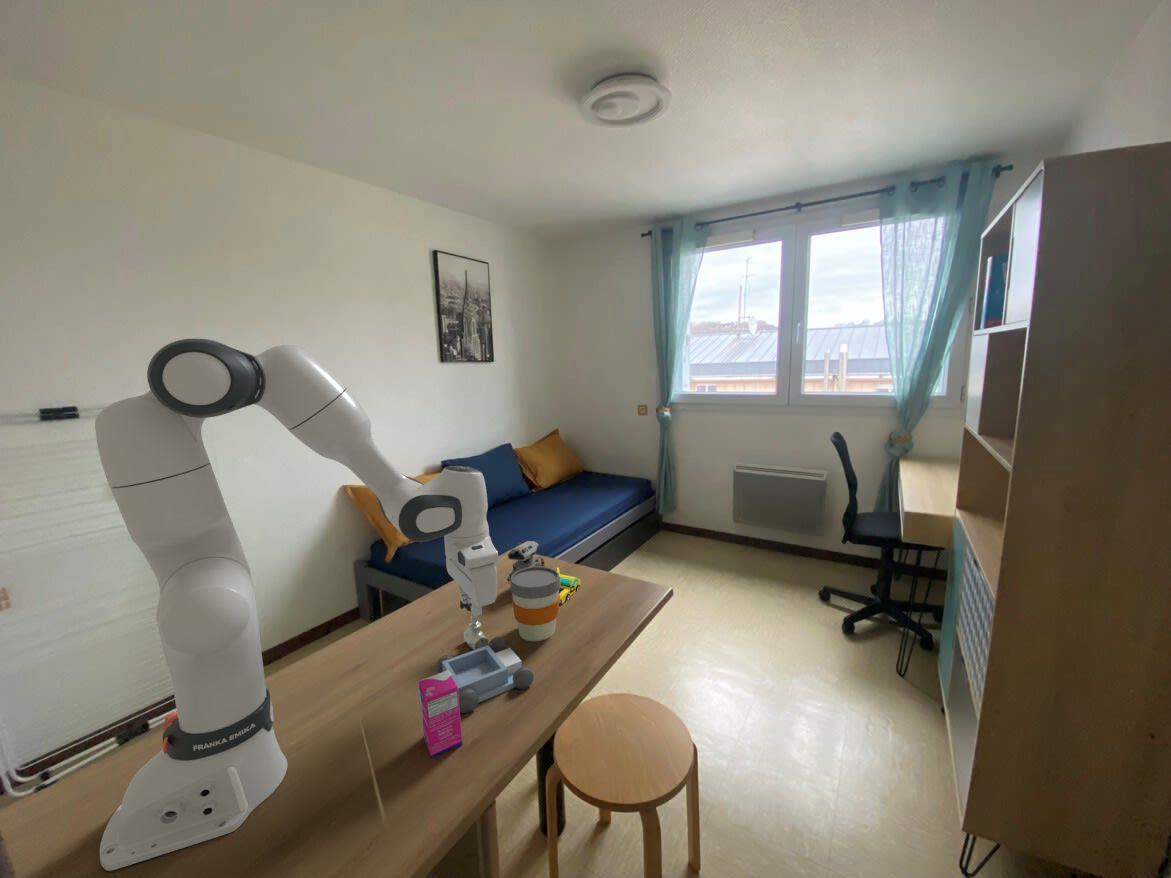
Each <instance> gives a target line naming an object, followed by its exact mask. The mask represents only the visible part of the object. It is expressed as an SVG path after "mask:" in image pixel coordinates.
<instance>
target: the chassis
mask: <svg viewBox="0 0 1171 878" xmlns="http://www.w3.org/2000/svg"><path fill="white" fill-rule="evenodd" d="M507 647H508V645H507V642H506V641H505V640H504V638H502V637H501V636H496V637H493V638H492V639H491V640H490V641H489V642H488V646H485V647H482V648H479V649H476V650H471V651H468V652H466V653H462V654H460V655H457V656H454V657H453V656H452V655H451V654H444V655H442V656H440V657H439V659H437V661H436V663H435V668H436V671H437V672H438V673H437V674H439V673H441V672H444V671H446V670H449V671H450V673H451V675H452V677H453V678H454V680H455V682H456V684H457V686H458V695H459V707H460V713H462V714H469V713H471V712H473V711H474V710H475V709H476V708H477V707H478V705H479V703H481V702H484V701H485V700H486V701H487V700H488V699H491V698H493V697H495V696H498V695H500V694H502V693H505V692H507V691H510V690H512V689H514V688H516V687H517V688H518V689H519V690H525V689H527V688H529V687H530V686H531V685H532V684H533V681H534V672H532V670H531V669H530V667H528V666H525V665H523V663H522V659H520V657H519V656H518V655H517V654H516V653H515V651H514V650H513V649H512V648H510V647H508V648H507Z"/></svg>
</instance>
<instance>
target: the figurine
mask: <svg viewBox="0 0 1171 878" xmlns="http://www.w3.org/2000/svg"><path fill="white" fill-rule="evenodd" d="M539 546H540V545H539V543H538V542H537V541H534V540H527V541H525V542H522V543H520V542H518V543H517V546H516V547H514V548H512V549H511V550H510V551H509V552H508V553H507V555H506V556H507V558H508V560H511V561H515V562H514V563H513V564H512V571H511V572H509V573H508V577H507V579H506V580H507V583H510V582H511V576H512V575H513V574H514V573H515V572H517V571H518V570H521V569H524V568H528V567H546V564H545V560H544V558H542V557H541V556H539V557H535V555H536V553H537V549H538V548H539Z"/></svg>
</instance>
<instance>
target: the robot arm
mask: <svg viewBox="0 0 1171 878" xmlns="http://www.w3.org/2000/svg"><path fill="white" fill-rule="evenodd" d="M146 378H147V384H148V386H149V391H147V392H146V393H144V394H141V395H138V396H132V397H127V398H125V399H121V400H117V401H115V402H113V403H111V404H109V405H108V406H106V407H105V408H103V409H102V410H101V411H100V412H99V413H98V414H97V416H96V418H95V421H94V429H95V430H94V431H95V437H96V444H97V450H98V454H99V457H100V462H101V466H102V469H103V472H104V475H105V477H106V480H107V483H108V485H109V488H110V490H111V493H112V496H113V498H114V500H115V502H116V505H117V508H118V510H119V513H120V515H121V517H122V518H123V521H124V523H125V526H126V528H127V531H128V534H129V535H130V538H131V540H132V541H133V543H135V545H136V546H137V547H138V549H139V550H140V551H141V552H140V553H142V555H143V556H144V558H145V560H146V561H147V563H148V565H149V566H150V568H151V569H152V571H153V573H154V575H155V577H156V581H157V583H158V587H159V594H160V596H159V601H158V605H157V609H156V614H155V615H156V618H155V619H156V625H157V630H158V633H159V639H160V643H161V646H162V651H163V653H164V658H165V663H166V665H167V668H168V670H169V674H170V677H171V684H172V689H173V696H174V700H175V701H174V702H175V709H176V711H172V712H170V713H168V714H167V715H166V717H165V719H164V722H163V725H162V728H163V730H164V731H163V734H162V749H160V751H159V752H158V753H157V754H155V755H154V756H153V757H151V759H150V760H149V761H147V762H146V763H145V764H143V766H141V768H139V770H138V771H137V772H136V773H135V775H134V776H133V777H132V779H131V781H130V782H129V785H128V786H127V789H126V790H125V792H124V796H123V798H122V801H121V804H120V805H119V807H117V809H116V810H115V811H114V813H113V814H112V815H111V817H110V820H108V823H107V825H106V827H105V829H104V831H103V835H102V837H101V841H100V845H99V862H100V865H101V866H102V868H103V869H104V870H106V871H108V872H112V871H115V870H119V869H122V868H124V867H127V866H131V865H133V864H136V863H140V862H144V861H146V860H150V859H152V858H153V859H154V858H157V857H159V856H162V855H165V854H168V853H171V852H175V851H177V850H181V849H184V848H186V847H191V846H193V845H197V844H200V843H203V842H206V841H209V840H212V839H216V838H219V837H221V836H225V835H227V834H230V833H233V832H235V831H236V830H237V829H238V828H239V827H240V826H242V825H243V823H244V822H245V821H246V819H248V817H249V815H250V814H251V813H252V812H253V811H254V810H255V809H256V808H257V807H258V806H260V805H261V804H262V803H263V802H264V801H265V800H266V799H268V798H269V797H270V796H271V795H272V794H273V793H274V791H275V790H277V788H278V787H279V785H281V783H282V781H283V780H284V778H285V776H286V773H287V770H288V760H287V758H286V756H285V755H284V753H283V751H282V750H281V747H280V745H279V743H278V740H277V737H276V734H275V730H274V727H273V725H274V720H275V719H274V707H273V700H272V697H271V693H270V690H269V689H268V687H267V686H266V678H265V670H264V662H263V661H264V660H263V654H262V647H261V646H262V644H261V636H260V626H259V617H258V608H257V600H256V594H255V589H254V588H255V587H254V582H253V578H252V577H253V576H252V573H251V568H250V564H249V562H248V560H247V559H248V558H247V556H246V554H245V551H244V549H243V546H242V544H241V541H240V539H239V536H238V533H237V530H236V528H235V525H234V523H233V521H232V518H231V516H230V513H229V511H228V508H227V505H226V503H225V500H224V499H225V498H224V497H223V495H222V492H221V489H220V486H219V482H218V481H217V477H216V474H215V472H214V470H213V466H212V463H211V460H210V458H209V456H208V453H207V450H206V448H205V444H204V441H203V435H202V427H203V424H204V422H205V420H206V419H208V418H215V417H219V416H223V415H226V414H230V413H232V412H234V411H237V410H239V409H242V408H247V407H249V406H252V405H256V406H258V407H261V408H263V409H264V410H265V411H266V412H267V413H268V412H269V414H270V415H272V416H273V417H274V418H275V419H276V420H277V421H278V422H279V423H281V425H283V426H284V427H285V428H286V429H287V430H288V431H289V433H291V434H292V435H293V436H294V437H295V438H296V439H298V441H300V442H301V443H302V444H303V445H305V446H306V447H308V448H309V449H311V450H312V451H313V452H315V453H316V454H318V455H319V456H321V457H323V458H326V459H327V460H328V459H330V460H333V461H335V462H337V463H339V464H342V465H343V466H345V468H347V469H349V470H350V472H352V473H353V474H354V475H355V476H356V477H357V478H358V479H359V480H360V481H361V482H362V483H363V484H364V485H365V486H366V487H367V488H368V489H369V490H370V491H371V492H372V493H373V494H374V496H375V497H376V499H377V502H378V505H379V509H380V511H381V514H382V516H383V518H384V519H385V520H386V521H387V522H388V523H389V524H391V525H393V526H394V527H395V528H396V529H397V530H398V531H399V532H400V534H402V535H403V536H404V537H405V538H406V539H408V540H410V541H411V542H412V541H413V542H417V543H427V542H430V541H434V540H436V539H439V538H441V537H443V540H444V553H445V554H444V555H445V557H446V559H445V561H446V565H445V566H446V570H447V574H448V575H449V576H450V577H451V578H452V579H453V580H454V582H456V584H457V588H458V591H459V595H460V599H461V601H462V602H463V604H466V603H468V604H470V602H471V600H472V606H471V612H470V614H473V616H478V617H480V616H481V615H482V614H483V610H482V608H483V607H485V606H488V605H491V604H494V603H495V602H496V600H497V598H498V571H497V566H496V563H497V562H498V561H499V553H498V550H497V549H496V548H495V546H494V544H493V542H492V538H491V536H490V529H489V528H490V527H489V523H488V520H487V514H488V510H489V509H488V507H489V504H488V493H487V487H486V480H485V477H484V474H483V473H482V472H481V471H480V470H479V469H477V468H474V467H471V466H466V465H465V466H464V465H448V466H445V467H444V468H443V469H442V471H441V472H440V473H439V474H437V475H436V476H435V477H434V478H432V479H431V480H429V481H428V482H426V483H422V482H421V481H419V480H417V479H415V478H412V477H409V476H406V475H404V474H403V473H402V472H400V471H399V469H398V468H396V466H395V465H394V464H393V462H391V461H390V460H389V458H388V457H387V456H386V455H384V453H383V452H382V451H381V450H380V449H379V447H378V446H377V445H376V443H375V442H374V439H373V437H372V433H371V432H372V431H371V427H372V426H371V425H372V423H371V420H370V418H369V416H368V415H367V413H366V411H365V410H364V408H363V407H362V405H361V403H360V402H359V401H358V400H357V398H356V397H355V395H353V393H352V392H351V391H350V390H349V389H348V387H347V386H346V385H345V384H343V383H342V381H341V380H340V379H339V378H338V377H337V376H336V375H334V373H332V372H331V371H330V370H329V369H328V368H327V367H326V366H325V365H324V364H322V363H321V362H320V361H319V360H317V358H315V357H314V356H313V355H311V354H310V353H308V352H307V351H306V350H305V349H303V348H301V347H299V346H296V345H293V344H292V345H291V344H283V345H276V346H274V347H270V348H268V349H266V350H265V351H263V352H261V353H259V354H257V355H253V354H250V353H247V352H244V351H242V350H239V349H236V348H233V347H230V346H229V345H226V344H225V343H222V342H219V341H217V340H212V339H207V338H184V339H183V338H182V339H179V340H175V341H172V342H170V343H167V344H166V345H165V346H163V347H161V348H160V349H159V350H158V351H157V352H156V353H155V354H153V356H152V358H151V359H150V361H149V363H148V366H147V372H146Z"/></svg>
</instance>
